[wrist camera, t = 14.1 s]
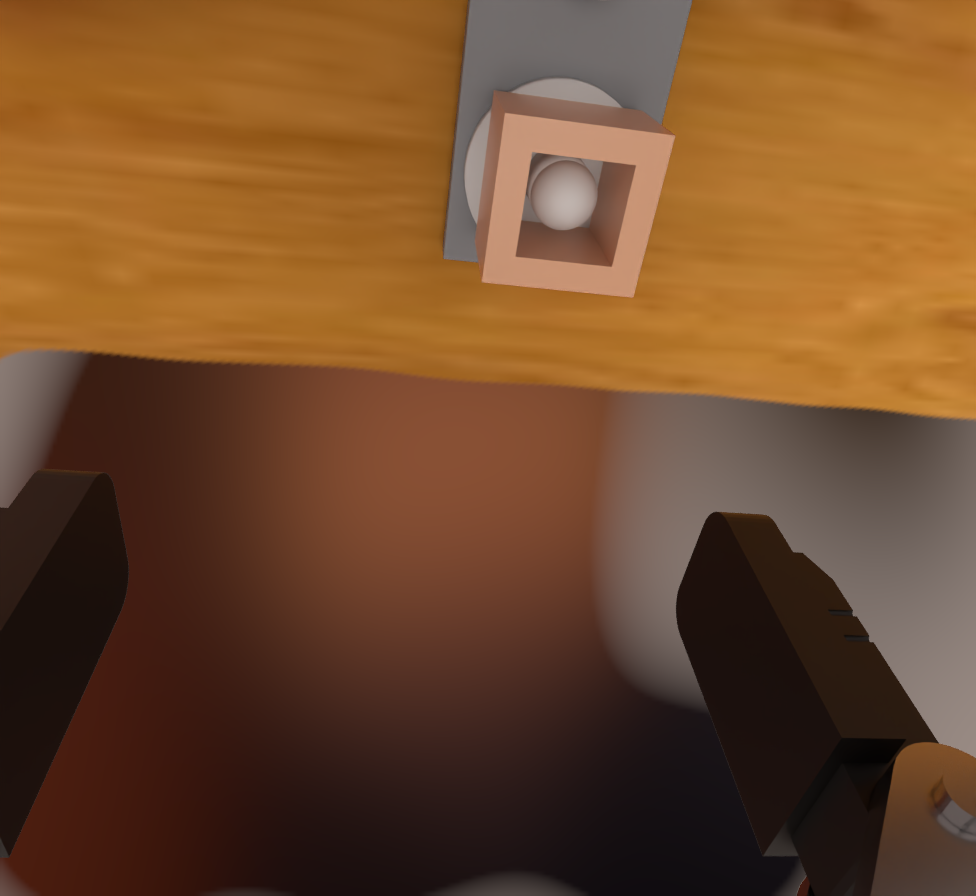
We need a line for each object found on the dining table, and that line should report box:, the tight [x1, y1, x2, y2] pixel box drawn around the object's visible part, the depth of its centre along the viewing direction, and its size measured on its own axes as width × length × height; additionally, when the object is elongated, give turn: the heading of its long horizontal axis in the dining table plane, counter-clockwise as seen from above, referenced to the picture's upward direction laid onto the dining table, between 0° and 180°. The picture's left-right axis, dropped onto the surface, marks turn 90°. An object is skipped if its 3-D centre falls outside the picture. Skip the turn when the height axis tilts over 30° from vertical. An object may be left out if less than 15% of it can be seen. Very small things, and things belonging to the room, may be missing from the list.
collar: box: [475, 90, 675, 297], centre depth 30 cm, size 6×6×5 cm
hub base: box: [443, 0, 692, 262], centre depth 30 cm, size 17×9×6 cm, turn 172°
